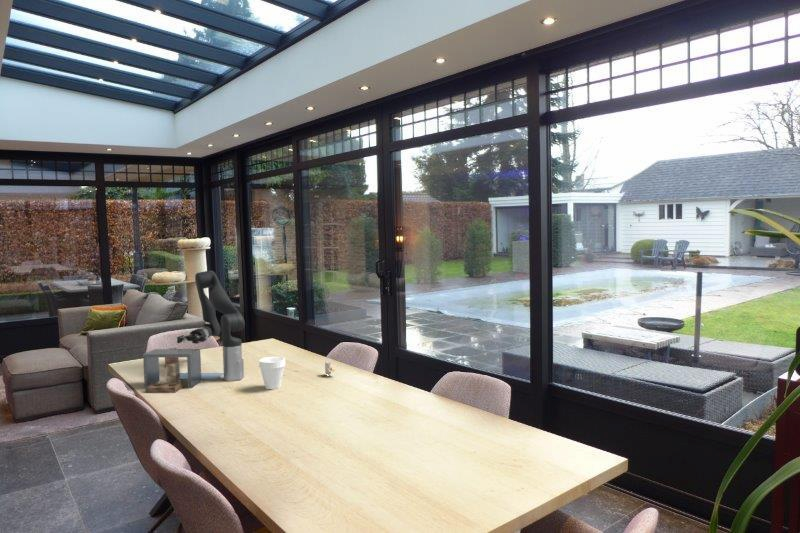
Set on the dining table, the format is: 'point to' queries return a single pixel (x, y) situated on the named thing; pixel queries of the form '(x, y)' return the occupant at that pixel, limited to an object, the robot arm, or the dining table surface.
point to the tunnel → (153, 356)
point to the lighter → (171, 358)
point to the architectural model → (328, 368)
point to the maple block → (173, 372)
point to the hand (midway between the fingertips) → (186, 341)
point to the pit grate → (163, 387)
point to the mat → (203, 376)
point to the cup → (272, 371)
